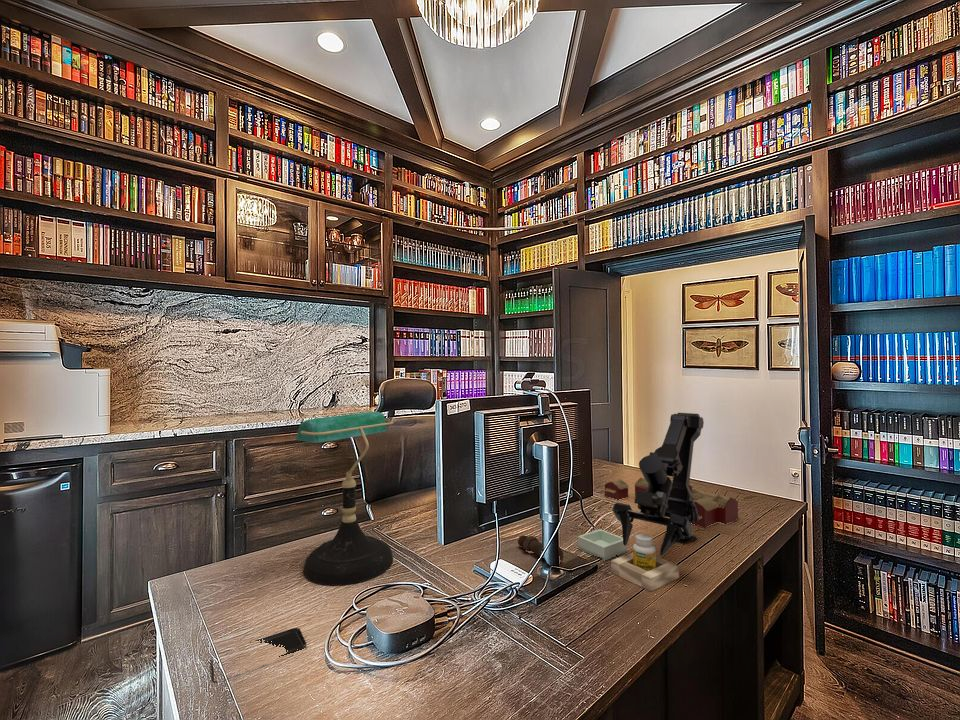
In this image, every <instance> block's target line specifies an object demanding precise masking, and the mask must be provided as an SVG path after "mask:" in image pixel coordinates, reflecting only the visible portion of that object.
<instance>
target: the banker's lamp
mask: <svg viewBox="0 0 960 720" xmlns="http://www.w3.org/2000/svg"><path fill="white" fill-rule="evenodd" d="M393 424H394V421H393V420H386V419H385V414H384V413H382V412H379V411H367V412H358V413H349V414H340V415H334V416H325V417H324V416H323V417H317V418H310V419H306V420H304V421H302V422H301V423H300V425H299V428H298V431H297V434H296V437H295V440H296V441H301V442H307V443H314V444H315V443H316V444H317V443H325V442H331V441H332V442H333V441H339V440H345V439H349V438H355V437H361V436H362V439H363V441H364V444H365V448H364V450H363V452H362V453H361V454H360V455H359V457H358V458H357V460H356V461H355V462H354V464H353V465H352V466H351V467H350V470H347V472H346V474H345V478H346V479H344V480H343V481H342V483H341V487H342V507H341V509H342V510H341V511H342V513H343V515H342V517H341V518H342V519H341V522H340V524H339V527H338V530H337V532H336V534H335V536H334V537H333V538H332V539H330V540H328V541H326V542H325V541H324V542H323V543H322V544H320V546H318V547H316V548H314V549H313V550H312V551H311V552H310V553H309V554H308V555H307V556H306V559H305V561H304V565H303V570H302V571H303V576H304V577H305V578H306V579H307V580H308V581H310V582H313V583H314V584H318V585H324V586H346V585H353V584H359V583H362V582H366V581H370V580H371V579H373V578H376V577H378V576H380V575H383V573H385V572H386V571H387V570H388V569H390V567H391V566H392V564H393V563H394V556H393V552H392V548H391V547H390V545H389V544H387V542H385V541H383V540H381V539H379V538H376V537H374V536H370V535H366V534H365V533H364V532H363V530H362V529H361V526H360V525H359V522H358V520H357V516H356V513H355V512H356V510H357V505H356V487H357V482H356V480H355V479H354V478H352V476H353V475H352V474H353V472H354V470H355V469H356V468H357V466H358V464H359V463H360V462H361V461H362V459H363V458H364V456H365V455H366V454H367V452H368V450H369V449H370V447H369V446H370V444H369V441H368V438H367V435H372V434H379V433H384V432H387V431H388V430H387V426H389V425H393Z"/></svg>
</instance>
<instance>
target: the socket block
mask: <svg viewBox="0 0 960 720" xmlns="http://www.w3.org/2000/svg"><path fill="white" fill-rule="evenodd" d="M610 565H611V567H610V569H611V570H610V571H611V573H612V574H614V575H616V576H618V577H619V578H622V579H624V580H626V581H629V582H630V583H631V584H635V585H637V586H638V587H641V588H643V589H645V590H646V591H649V592H653V591H655V590H657V589H659V588H661V587H663V586H665V585H667V584H669V583H671V582H673V581H675V580H677V579H680V566H679V565H678V564H676V563H673V562H671V561H669V560H666V559H663V558H661V557H659V556H656V568H655V569H652V570H650V571H646V570H644V569H641V568H639V567H637V566H634V565H633V551H632V552H630V553H627V554H625V555H622V556H619V557H617V558H614V559H612V560H611V562H610Z"/></svg>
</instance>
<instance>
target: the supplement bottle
mask: <svg viewBox="0 0 960 720" xmlns="http://www.w3.org/2000/svg"><path fill="white" fill-rule="evenodd" d="M653 542H654V541H653V537H652V536H651V535H650V534H646V533H639V534H636V535H635V543H634V544H632V552H633V565H634V566H637V567H639V568H641V569H644V570H646V571H650V570H652V569H655V568H656V557H657V554H656V553H657V549H656V547H655V545H653Z"/></svg>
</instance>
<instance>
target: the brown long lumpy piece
mask: <svg viewBox="0 0 960 720" xmlns="http://www.w3.org/2000/svg"><path fill="white" fill-rule="evenodd" d="M517 544H518V545H519V546H520V547H521V546H522V548H523V550H524V549H525V550H527V551H532V552H534V553H533V554H535V555H537V556H539V557H541V556H540V554H541V551H542V544H543V543H542V542H540V541H539V539H538V538H537V537H536V536H535V535H529V536H527V535H521V536H519V537H518V539H517ZM525 550H524V551H525ZM559 556H560V560H561V561H562V562H563V560H564V551H563V550H562V547H560V546H559Z"/></svg>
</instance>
